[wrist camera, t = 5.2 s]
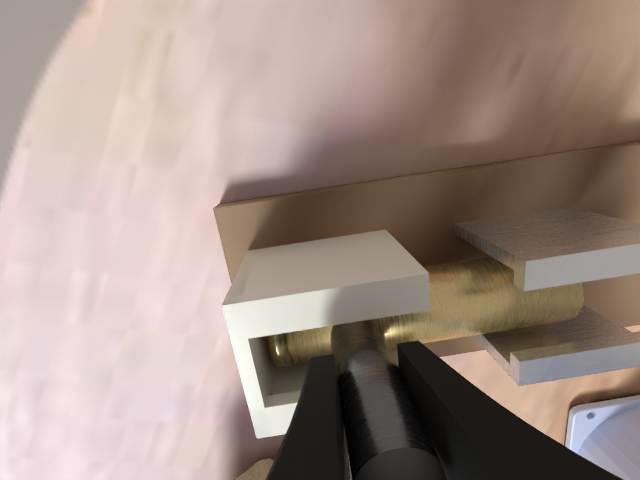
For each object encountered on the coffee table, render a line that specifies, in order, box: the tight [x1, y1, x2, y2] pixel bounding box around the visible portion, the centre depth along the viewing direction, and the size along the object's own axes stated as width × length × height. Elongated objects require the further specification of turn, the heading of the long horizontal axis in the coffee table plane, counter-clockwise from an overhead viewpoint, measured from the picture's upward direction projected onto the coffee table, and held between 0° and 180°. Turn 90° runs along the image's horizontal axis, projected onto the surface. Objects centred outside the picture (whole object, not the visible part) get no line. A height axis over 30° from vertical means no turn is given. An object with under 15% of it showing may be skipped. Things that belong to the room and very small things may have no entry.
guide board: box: [213, 141, 640, 386], centre depth 13 cm, size 20×9×6 cm, turn 98°
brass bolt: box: [267, 257, 584, 480], centre depth 10 cm, size 11×3×9 cm, turn 98°
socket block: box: [222, 230, 431, 439], centre depth 12 cm, size 6×5×5 cm
